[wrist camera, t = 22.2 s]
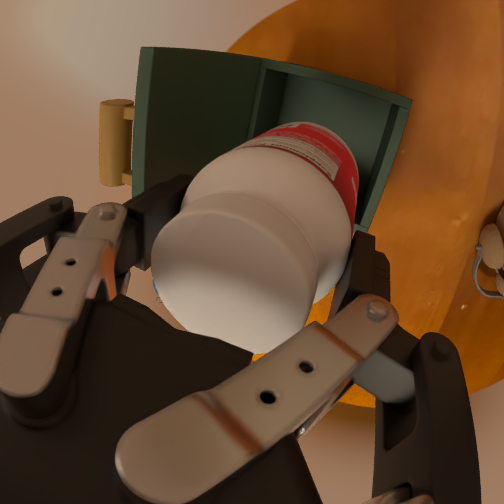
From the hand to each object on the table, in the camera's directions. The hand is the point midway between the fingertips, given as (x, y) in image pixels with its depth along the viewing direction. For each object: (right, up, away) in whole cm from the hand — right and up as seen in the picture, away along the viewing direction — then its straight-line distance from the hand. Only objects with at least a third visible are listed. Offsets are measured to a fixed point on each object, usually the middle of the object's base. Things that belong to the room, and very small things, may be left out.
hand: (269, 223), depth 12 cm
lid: (-3, +5, +7) cm, 9 cm away
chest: (+7, +11, +17) cm, 21 cm away
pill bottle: (+2, +3, +5) cm, 7 cm away
